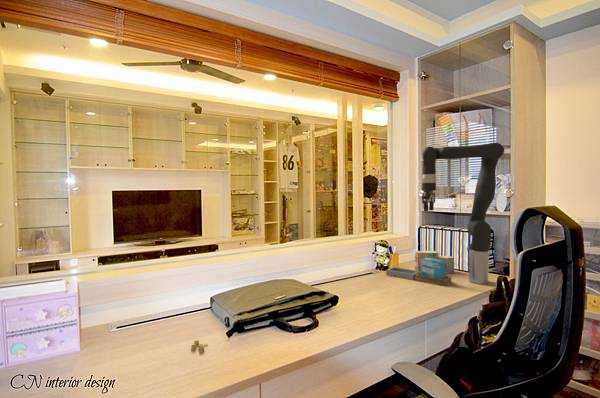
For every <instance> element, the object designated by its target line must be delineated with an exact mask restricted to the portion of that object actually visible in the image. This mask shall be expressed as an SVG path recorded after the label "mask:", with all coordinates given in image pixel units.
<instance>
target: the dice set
mask: <svg viewBox="0 0 600 398" xmlns="http://www.w3.org/2000/svg"><path fill="white" fill-rule="evenodd" d="M208 345H209V344H208V343H204V344H203V343H200V341H199V340H198V339H196V340H194V341H193V344H192V345H190V347H191V351H196V349H197V347H198V350H199V353H204V352H205V347H207V346H208Z"/></svg>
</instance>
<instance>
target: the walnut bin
mask: <svg viewBox="0 0 600 398" xmlns="http://www.w3.org/2000/svg"><path fill="white" fill-rule="evenodd" d="M414 281H416V282H420V283H426V284H431V285H437V286H443V287H446V286H448V285H450V284H451V283H452V276H449V275H446V279H445V280H443V279H437V278H431V277H426V276H421V272H420V273H418V274H416V275H415V279H414Z"/></svg>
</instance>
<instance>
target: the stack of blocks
mask: <svg viewBox="0 0 600 398" xmlns="http://www.w3.org/2000/svg"><path fill="white" fill-rule="evenodd" d="M424 258H432V259H438V260H443V261H445V262H446V274H448V273H449V274H454V273H455V258H454V257H453V256H451V255H439V252H437V251H436V250H414V270H416V271H420V272H421V260H422V259H424Z"/></svg>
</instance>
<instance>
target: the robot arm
mask: <svg viewBox="0 0 600 398" xmlns="http://www.w3.org/2000/svg"><path fill="white" fill-rule="evenodd" d="M504 154H505V147H504V146H503V145H502V144H501V143H499V142H491V143H490V142H489V143H485V144H479V145H478V144H477V145H464V146H463V145H461V146H459V145H457V146H455V145H454V146H442V147H433V146H427V147H425V148H424V149H423V151H422V163H423V165H422V176H421V190H422V191H423V192H422V195H421V196H422V197H421V203H422V205H423V212H428V211H434V210H435V209H434V204H435V203H436V192H434V191H437V173H436V172H437V167H436V164H437V163H436V161H438V160H459V159H467V158H481V159H480V160H481V161H480V171H479V173H478V177H477V181H476V184H475V186H476V187H475V190H474V196H473V203H472V209H471V213H470V217H469V220H468V224H467V226H466V227H467V232H468V234H469V235H470V236H472V239H471V243H470V244H469V249H468V251H469V255H468V281H469V282H470V283H473V284H477V285H488V284H489V269H490V268H489V260H490V256H489V255H490V254H489V253H490V247H491V243H492V242H491V241H492V228H491V225H490V224H489V223H488V222H486V215H487V211H488V209H489V208H490V205H491V204H492V203H493V201H494V198H495V195H496V194H495V193H496V188H497V187H496V186H497V177H496V170H497V165H498V163H499V159H500V158H501V157H502V156H503V155H504Z"/></svg>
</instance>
